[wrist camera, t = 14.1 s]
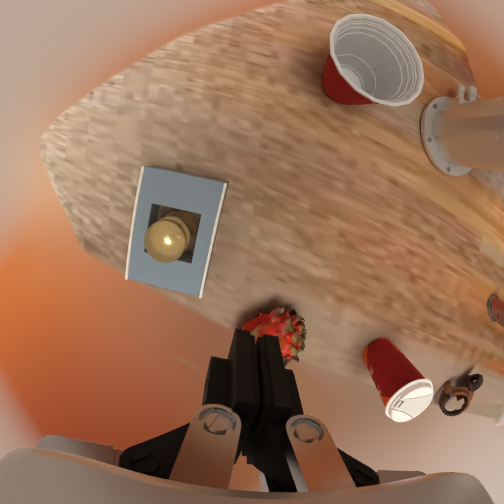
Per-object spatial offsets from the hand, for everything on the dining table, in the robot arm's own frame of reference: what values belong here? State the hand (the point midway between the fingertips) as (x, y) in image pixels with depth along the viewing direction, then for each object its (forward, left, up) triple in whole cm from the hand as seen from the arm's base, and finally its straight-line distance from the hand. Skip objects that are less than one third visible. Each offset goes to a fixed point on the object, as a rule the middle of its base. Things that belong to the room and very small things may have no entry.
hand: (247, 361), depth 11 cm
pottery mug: (+23, +55, -27) cm, 66 cm away
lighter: (+3, +54, -27) cm, 61 cm away
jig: (+2, -8, -27) cm, 28 cm away
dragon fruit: (+14, +7, -27) cm, 32 cm away
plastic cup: (-22, +8, -27) cm, 36 cm away
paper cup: (+15, +27, -27) cm, 41 cm away
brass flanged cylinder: (+2, -8, -27) cm, 28 cm away
